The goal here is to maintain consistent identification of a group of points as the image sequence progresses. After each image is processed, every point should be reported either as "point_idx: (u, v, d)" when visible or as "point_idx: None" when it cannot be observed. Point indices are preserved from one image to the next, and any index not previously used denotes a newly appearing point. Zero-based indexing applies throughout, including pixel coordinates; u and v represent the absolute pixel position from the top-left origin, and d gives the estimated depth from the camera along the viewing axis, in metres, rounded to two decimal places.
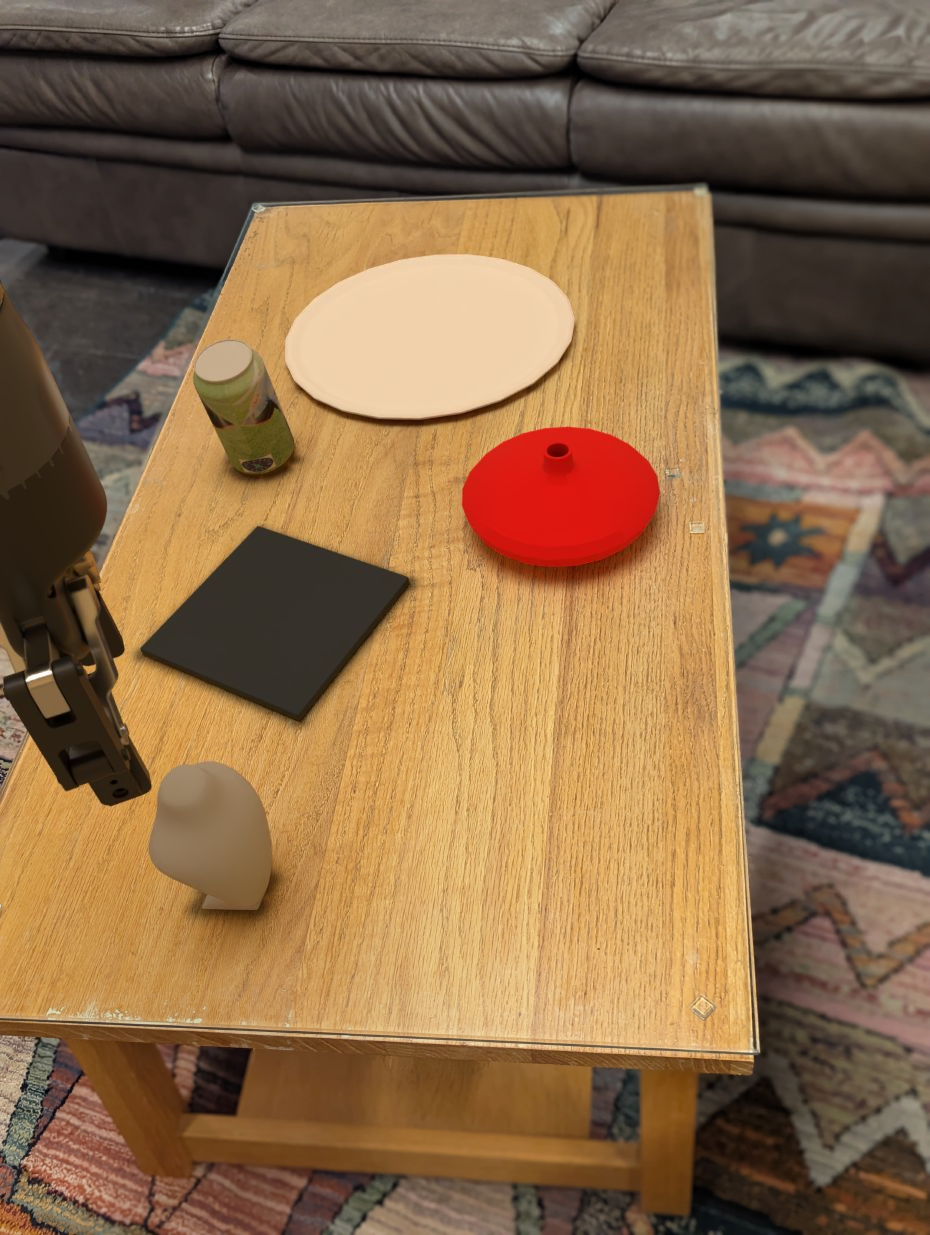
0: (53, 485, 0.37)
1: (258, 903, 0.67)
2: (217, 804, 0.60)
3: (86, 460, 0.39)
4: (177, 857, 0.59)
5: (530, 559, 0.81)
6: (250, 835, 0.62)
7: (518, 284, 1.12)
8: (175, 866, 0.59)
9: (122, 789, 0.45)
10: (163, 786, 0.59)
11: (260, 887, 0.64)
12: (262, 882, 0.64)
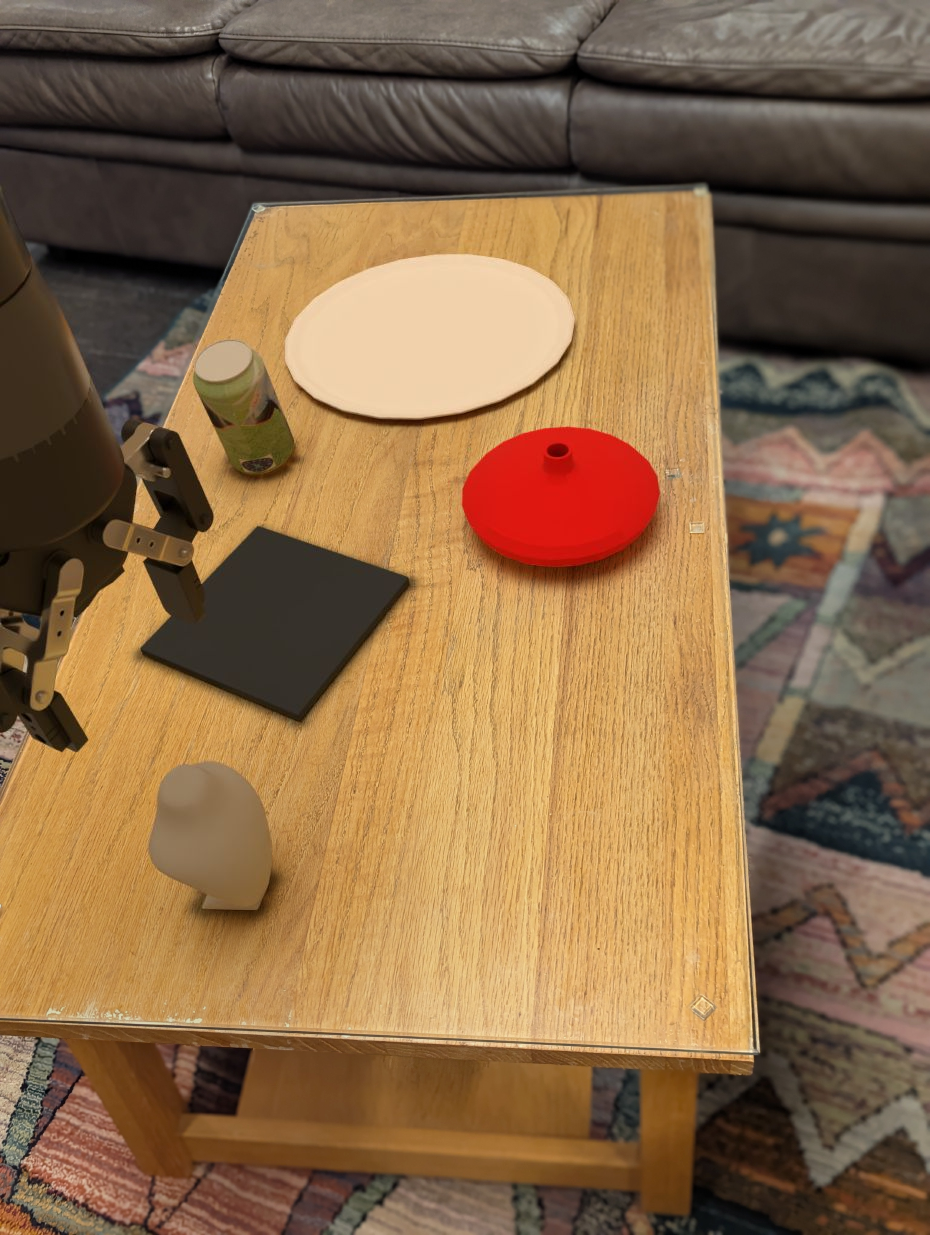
0: None
1: (258, 903, 0.67)
2: (217, 804, 0.60)
3: (67, 473, 0.40)
4: (177, 857, 0.59)
5: (530, 559, 0.81)
6: (250, 835, 0.62)
7: (518, 284, 1.12)
8: (175, 866, 0.59)
9: None
10: (163, 786, 0.59)
11: (260, 887, 0.64)
12: (262, 882, 0.64)
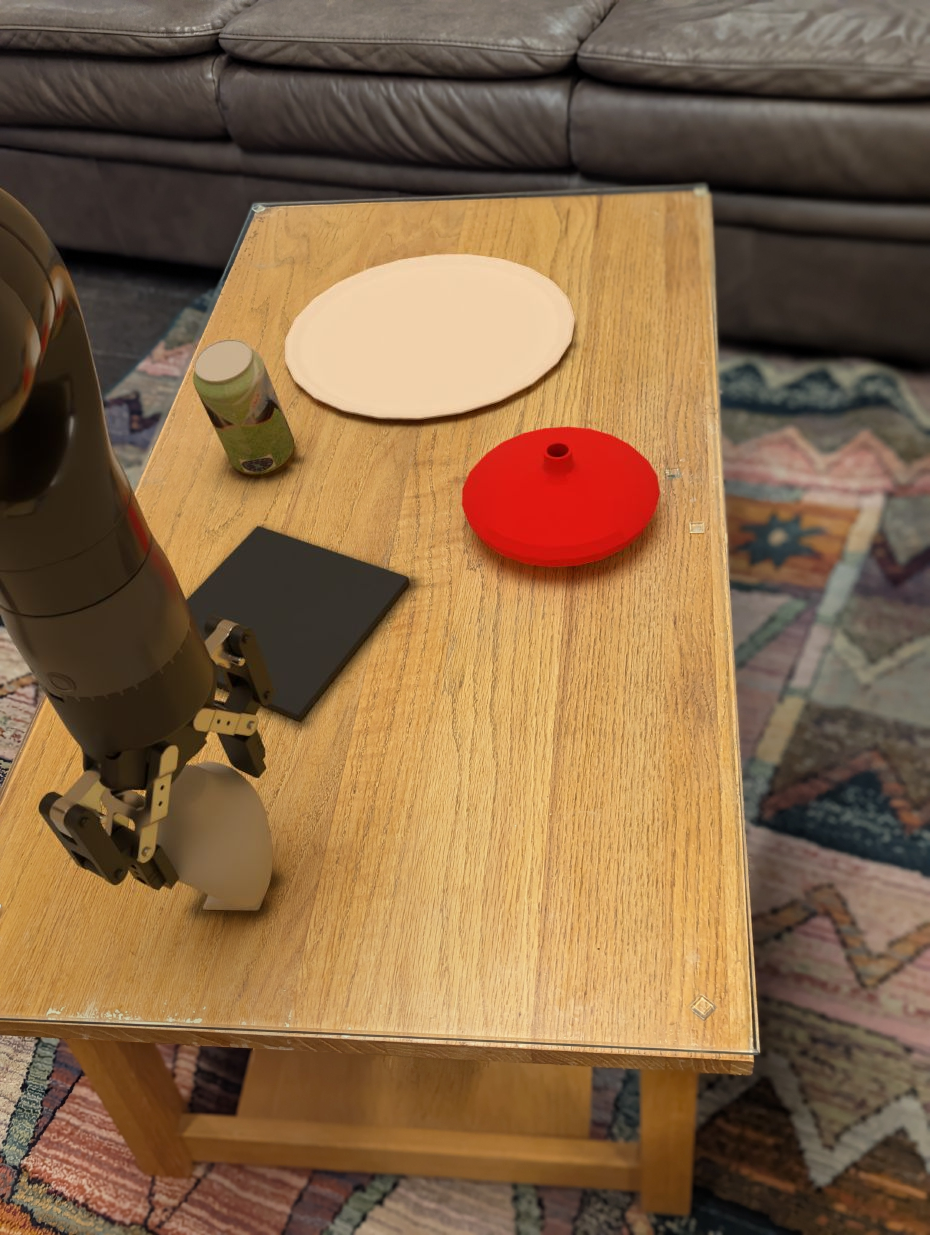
0: (119, 705, 0.48)
1: (259, 903, 0.67)
2: (218, 804, 0.60)
3: (173, 691, 0.49)
4: (178, 857, 0.59)
5: (530, 559, 0.81)
6: (251, 835, 0.62)
7: (518, 284, 1.12)
8: (176, 866, 0.59)
9: None
10: None
11: (261, 887, 0.64)
12: (262, 883, 0.64)
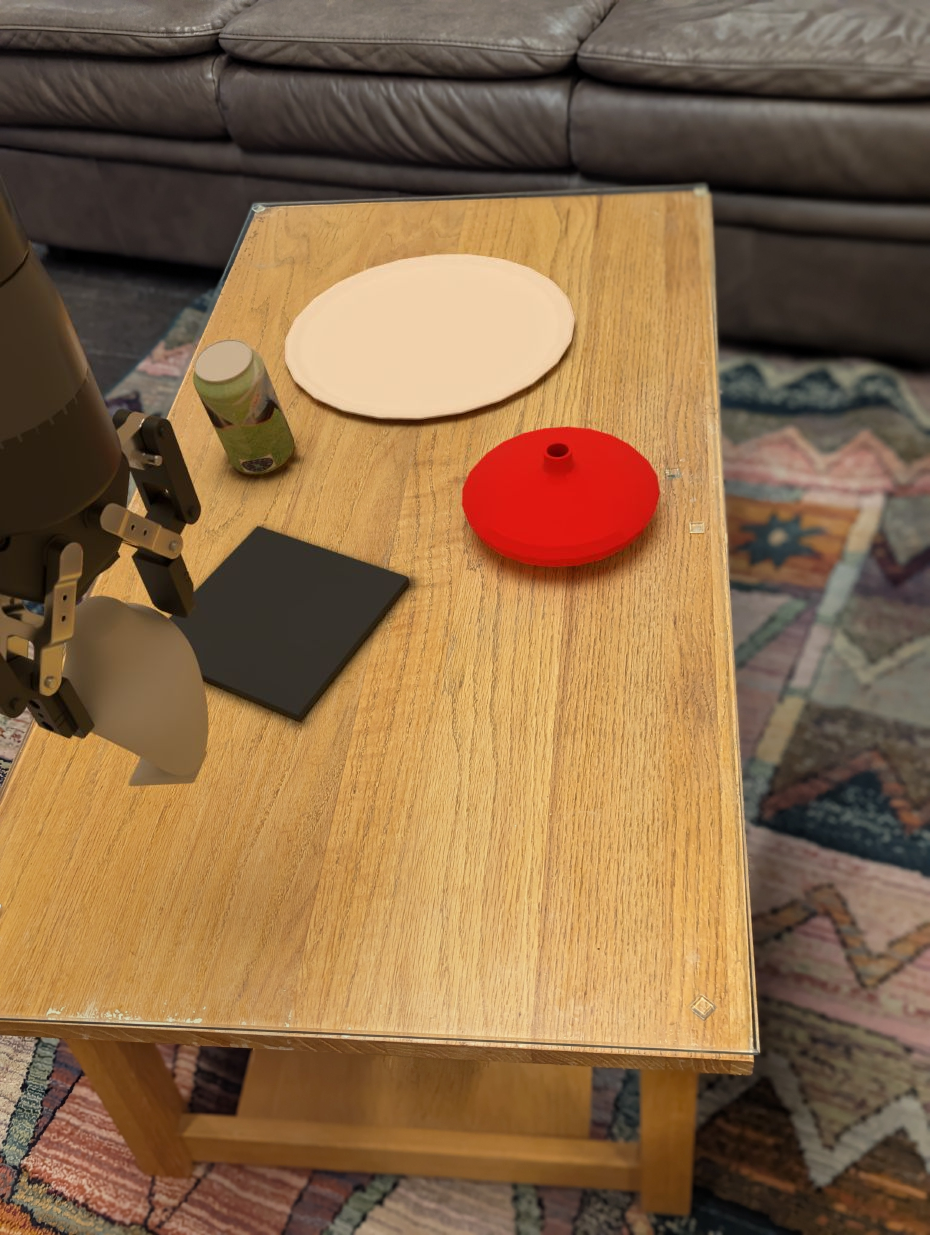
0: (0, 464, 0.38)
1: (195, 775, 0.57)
2: (138, 640, 0.50)
3: (69, 453, 0.40)
4: (92, 702, 0.50)
5: (530, 559, 0.81)
6: (180, 682, 0.52)
7: (518, 284, 1.12)
8: (90, 713, 0.50)
9: None
10: None
11: (195, 750, 0.55)
12: (197, 745, 0.55)
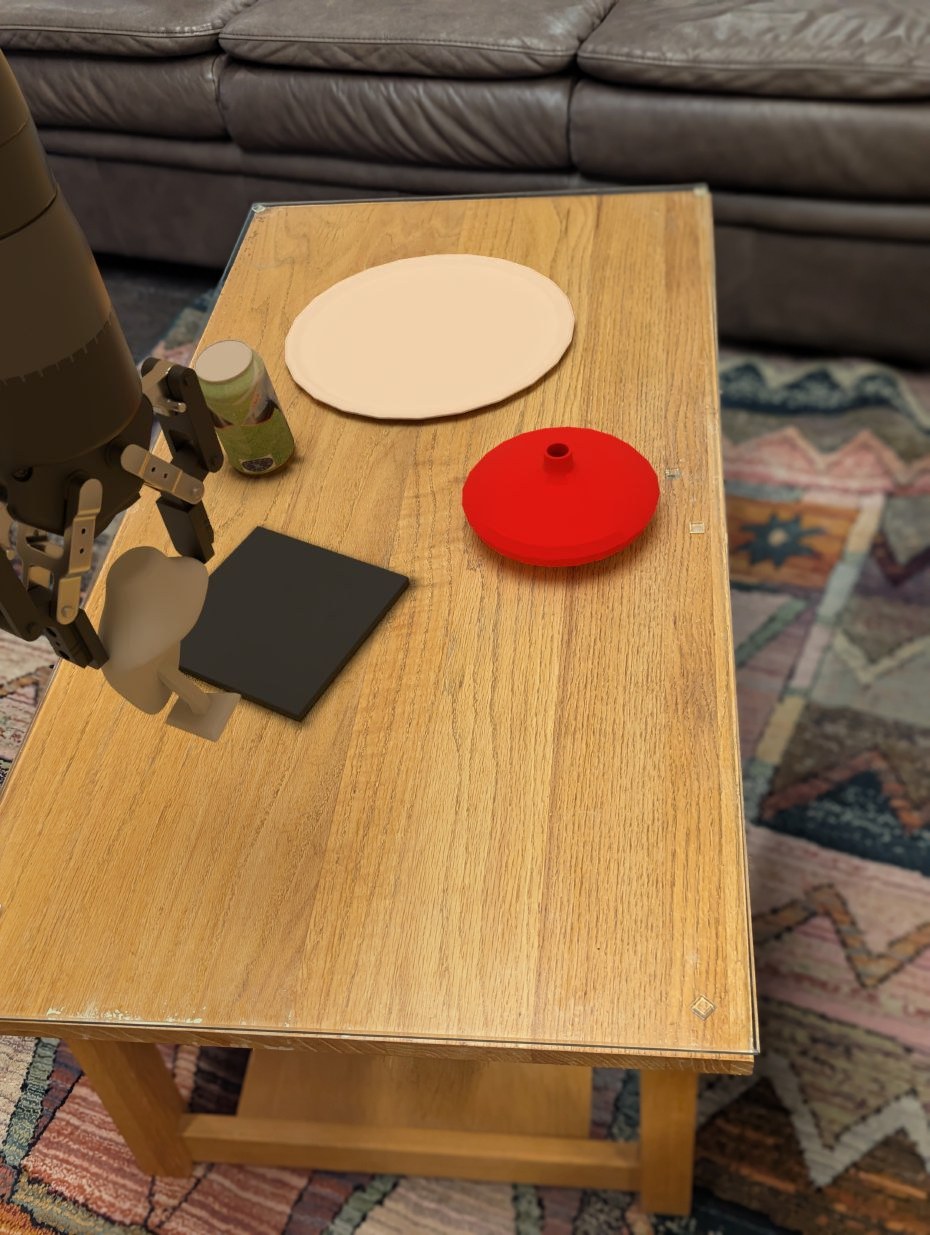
0: None
1: (178, 698, 0.61)
2: None
3: None
4: None
5: (530, 559, 0.81)
6: None
7: (518, 284, 1.12)
8: None
9: None
10: (151, 556, 0.52)
11: None
12: None
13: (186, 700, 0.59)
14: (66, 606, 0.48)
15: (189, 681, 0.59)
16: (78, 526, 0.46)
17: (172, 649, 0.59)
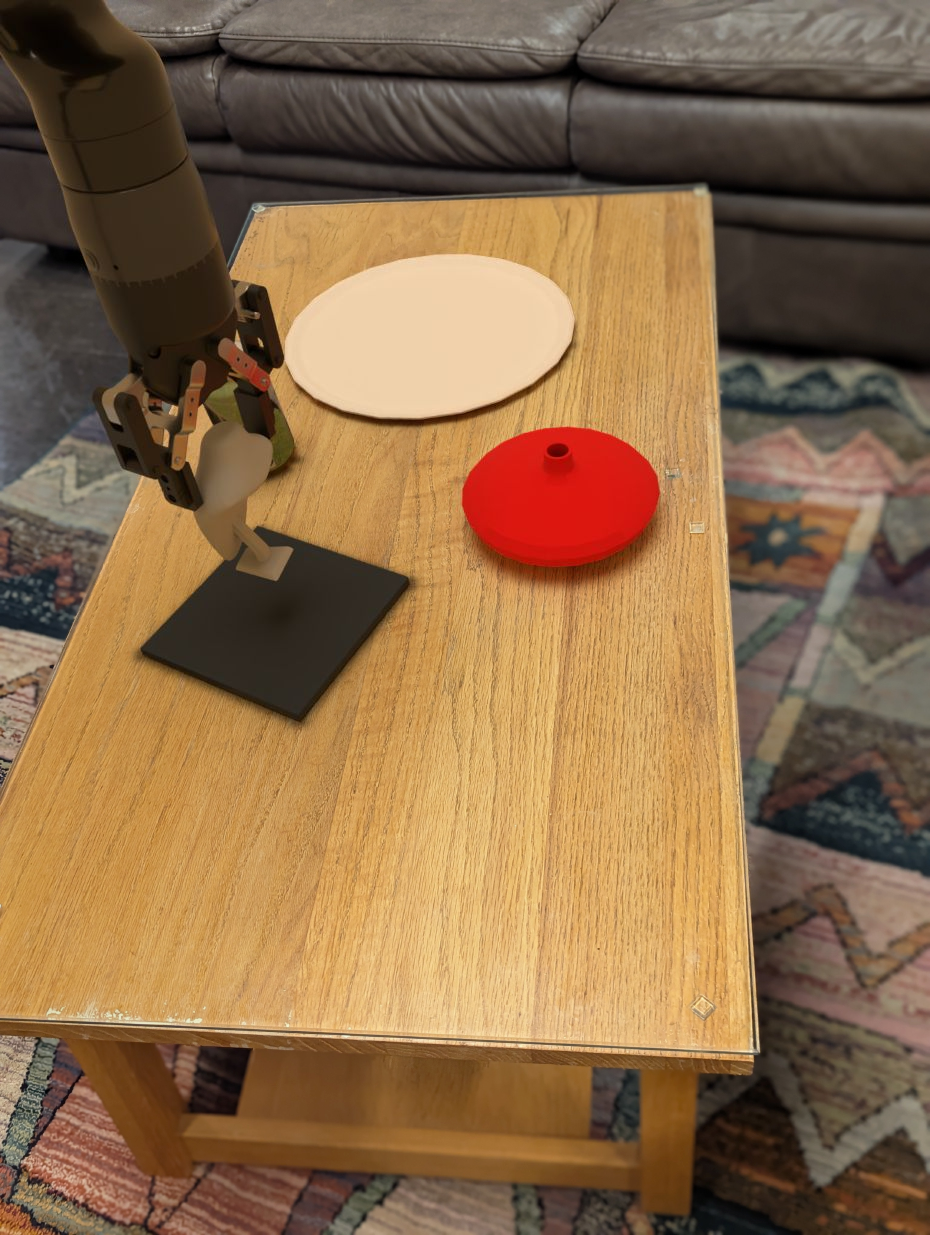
0: None
1: None
2: None
3: None
4: None
5: (530, 559, 0.81)
6: None
7: (518, 284, 1.12)
8: None
9: None
10: (234, 426, 0.70)
11: None
12: None
13: (253, 549, 0.77)
14: (178, 456, 0.66)
15: (255, 534, 0.77)
16: (189, 395, 0.65)
17: (242, 509, 0.77)
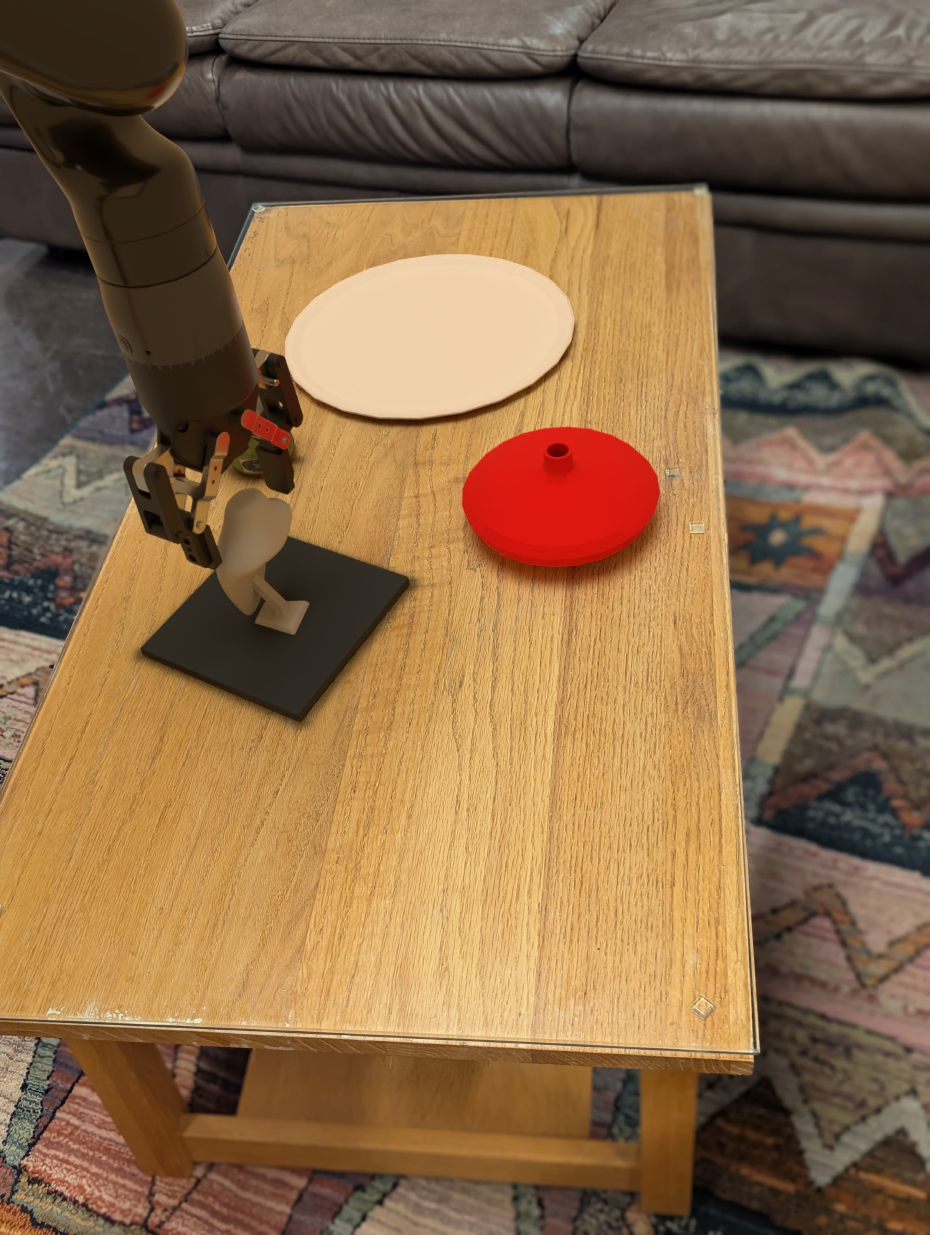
0: None
1: (263, 605, 0.83)
2: None
3: None
4: None
5: (530, 559, 0.81)
6: None
7: (518, 284, 1.12)
8: None
9: None
10: (256, 494, 0.74)
11: None
12: None
13: (271, 605, 0.81)
14: (199, 521, 0.70)
15: (274, 590, 0.81)
16: (213, 464, 0.69)
17: (261, 567, 0.81)
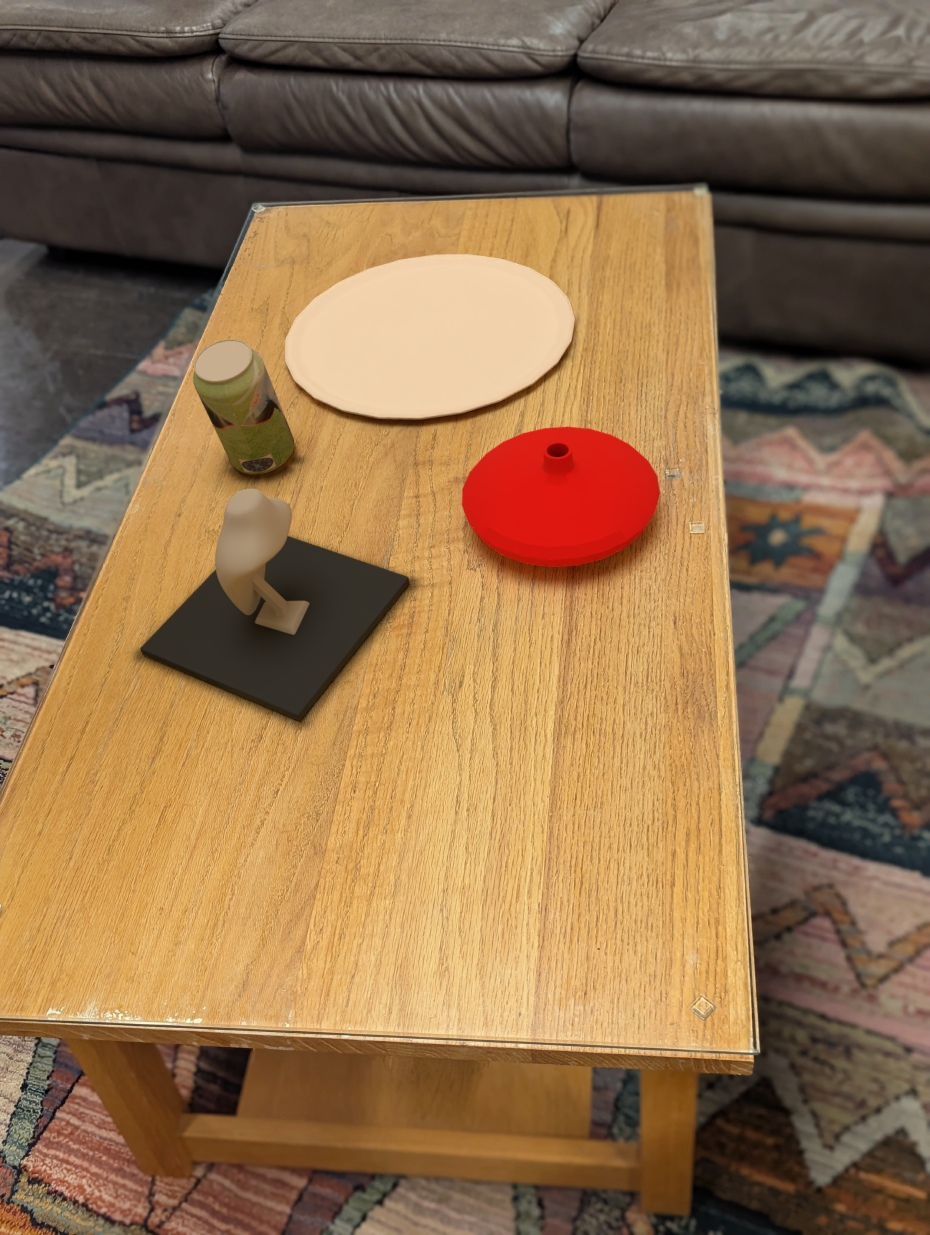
0: None
1: (263, 605, 0.83)
2: None
3: None
4: None
5: (530, 559, 0.81)
6: None
7: (518, 284, 1.12)
8: None
9: None
10: (256, 494, 0.74)
11: None
12: None
13: (271, 605, 0.81)
14: None
15: (274, 590, 0.81)
16: None
17: (261, 567, 0.81)
